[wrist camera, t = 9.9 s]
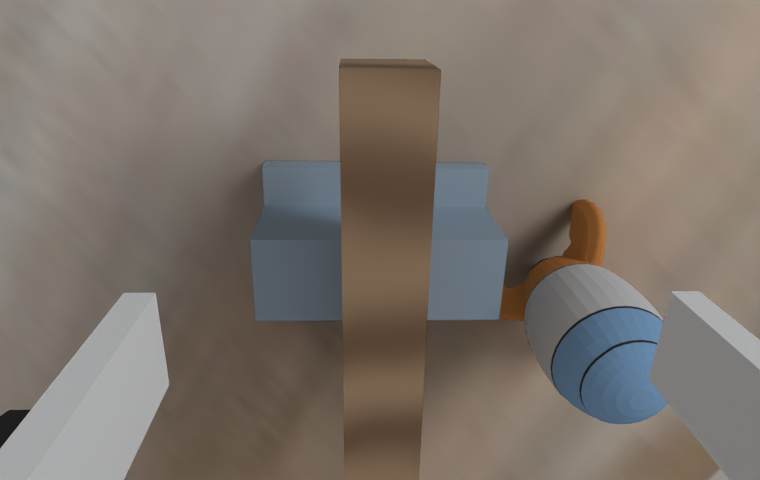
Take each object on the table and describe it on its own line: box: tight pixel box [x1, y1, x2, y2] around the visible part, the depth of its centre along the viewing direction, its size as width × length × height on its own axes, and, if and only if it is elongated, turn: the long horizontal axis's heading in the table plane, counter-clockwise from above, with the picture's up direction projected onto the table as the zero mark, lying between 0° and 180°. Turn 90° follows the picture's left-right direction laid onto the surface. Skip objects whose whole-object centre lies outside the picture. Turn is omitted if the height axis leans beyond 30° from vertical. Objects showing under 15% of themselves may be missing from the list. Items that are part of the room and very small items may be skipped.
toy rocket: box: [499, 200, 668, 424], centre depth 33 cm, size 10×11×15 cm
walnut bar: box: [339, 59, 441, 480], centre depth 28 cm, size 24×4×5 cm, turn 179°
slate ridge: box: [250, 161, 509, 321], centre depth 34 cm, size 10×14×7 cm
